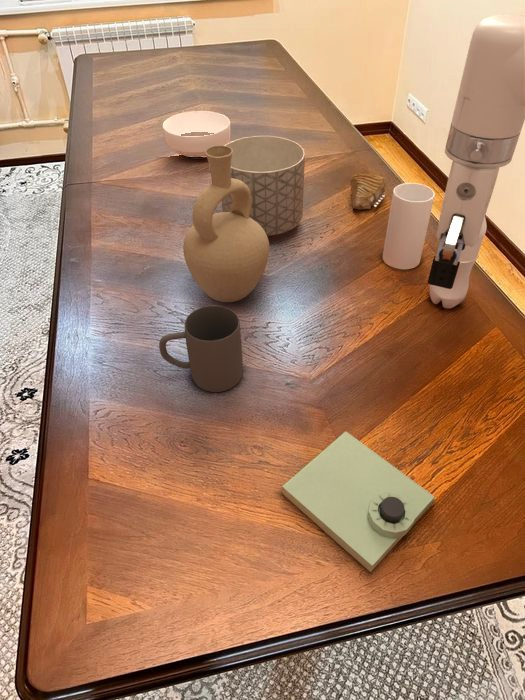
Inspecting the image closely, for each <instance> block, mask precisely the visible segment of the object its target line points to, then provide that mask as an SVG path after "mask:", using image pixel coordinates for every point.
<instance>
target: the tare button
mask: <svg viewBox="0 0 525 700" xmlns="http://www.w3.org/2000/svg"><path fill="white" fill-rule="evenodd" d="M404 510H405V508H404V504H403V503H402V501H401V500H399V499H398V498H396V497H387V498H385V499H384V500H383V501H382V503H381V507H380V514H381V516H382V518H383V519H384V520H386V521H388V522H391V523H395V522H398V521H400V520H401V519H402V516H403V513H404Z"/></svg>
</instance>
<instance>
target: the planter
mask: <svg viewBox="0 0 525 700" xmlns="http://www.w3.org/2000/svg"><path fill="white" fill-rule="evenodd" d="M225 146H227V147H230V148H231V149H232V150H233V154H232V158H231V178H234V179H238V180H241V181H242V182H244V183H245V184H246V185H247V186H248V188H249V189H250V192H251V200H252V203H251V211H250V215H249V217H250V218H251V219H253V220H254V221H256V222H257V223H258V224H259V225H260V226H261V227H262V228H263V229H264V231H265V233H266V235H267V237H269V236H275V235H280V234H284V233H287V232H289V231H291V230H293V229H294V228H296V227H297V226H299V224H300V223H301V221H302V219H303V213H304V212H303V210H304V209H303V208H304V187H305V165H306V152H305V149H304V148H303V146H302V145H300V144H299V143H297V142H296V141H294V140H291V139H288V138H285V137H281V136H274V135H251V136H246V137H245V136H244V137H240V138H237V139H235V140H232V141H229V142H228V143H227V144H226V145H225ZM232 203H233V193H231V194H229V195H228V196H226V197H225V198H224V199H223V200H222V201H221V208H222V211H221V212H231V209H232Z"/></svg>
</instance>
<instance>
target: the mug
mask: <svg viewBox="0 0 525 700" xmlns="http://www.w3.org/2000/svg"><path fill="white" fill-rule="evenodd" d="M183 327H184V329H183V330H184V331H181V332H180V331H179V332H172V333H167V334H164V335H162V336H161V338H160V339H159V342H158V343H159V344H158V348H159V353H160V355H161V357H162V359H163V360H164V361H166V362H167V363H169V364H171V366H175V367H177V368H181V369H187V370H189V369H190V375H191V377H192V380H193V382H194V384H195V385H196V386H197V387H198V388H200V389H201V390H203V391H206V392H210V393H220V392H225V391H229V390H231V389H233V388H234V387H235V386H237V385H238V384H239V383H240V381H241V379H242V377H243V370H244V369H243V367H244V364H243V362H244V361H243V345H242V330H241V329H242V328H241V322H240V318H239V316H238V314H237V313H236V312H235V311H234V310H232V309H231V308H229V307H227V306H223V305H215V304H213V305H212V304H211V305H205V306H202V307H199V308H196V309H194V310H193V311H192V312H190V313H189V314H188V315H187V317H186V318H185V321H184V326H183ZM182 339H185V344H186V352H187V356H188V357H187V358H188V361H183V360H180V359H177V358H175V357H174V356H172V355H170V354H169V353H168V350H167V343H168V342H169V341H173V340H182Z"/></svg>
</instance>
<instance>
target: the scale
mask: <svg viewBox="0 0 525 700" xmlns="http://www.w3.org/2000/svg"><path fill="white" fill-rule="evenodd" d="M281 494H282V495H283V496H284V497H285V498H286V499H287V500H288V501H290V503H292V504H293V505H294V506H295V507H296V508H297V509H298V510H300V511H301V513H303V514H304V515H306V516H307V517H308V518H309V519H310V520H311V521H312V522H313V523H314V524H315V525H317V526H318V527H319V528H320V529H321V530H322V531H323V532H324V533H325V534H326V535H328V536H329V537H330V538H331V539H332V540H333V541H334V542H336V543H337V544H338V545H339V546H340V547H341V548H342V549H344V551H346V552H347V553H348V554H349V555H351V557H353V559H355V560H356V561H357V562H358V563H359V564H361V566H363V567H364V568H365V569H366V570H367V571H368V572H370V573H372V571H373V570H374V569H375V568H376V567H377V566H378V565H379V564H380V562H381V561H383V559H384V558H385V557H386V556H387V555H388V554H389V553H390V551H392V550H393V548H394V547H396V545H397V544H398V543H399V542H400V540H401V539H402V538H403V537H404V536H406V535H407V534H408V533H409V531H411V529H412V528H413V526H415V524H416V523H417V522H418V521H419V519H420V518H421V517H422V516H423V515H424V514H425V513H426V512H427V510H428V509H429V508H430V507H431V506H432V505H433V503H434V500H435V498H436V496H435V495H433V494H432V493H430V491H427V490H426V489H425V488H424V487H422V486H421V485H420V484H418V483H417V482H416V481H414V480H413V479H412V478H410V477H409V476H407V475H406V474H405V473H404V472H403V471H401V470H399V469H398V468H396V467H395V466H394V465H393V464H391V463H390V462H389V461H387V460H386V459H384V458H383V457H382V456H380V455H379V454H377V452H375V451H374V450H372V449H371V448H370V447H368V446H367V445H365V444H364V443H363V442H362V441H360V440H359V439H357V438H356V437H355V436H354V435H352V434H351V433H350V432H348V431H344V432H343V433H342V434H341V435H339V436H338V437H337V438H336V439H335V440H334V441H332V442H331V443H330V444H329V445H328V446H327V447H326V448H325V449H323V450H322V451H321V452H320V453H319V454H318V455H316V456H315V457H314V458H313V459H311V461H310V462H309V463H307V464H305V466H304V467H302V468H301V469H300V470H299V471H298V472H297V473H296V474H294V475H293V476H292V477H291V478H290V479H289V480H288V481H287V482H285V483H284V484H283V485H281ZM387 497H396V498H398V499H399V500H401V501H402V503H403V504H404V508H405V510H404V513H403V516H402V519H401V520H400V521H398V522H395V523H391V522H388V521H386V520H384V519H383V518H382V516H381V514H380V507H381V503H382V501H383V500H384V499H385V498H387Z"/></svg>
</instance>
